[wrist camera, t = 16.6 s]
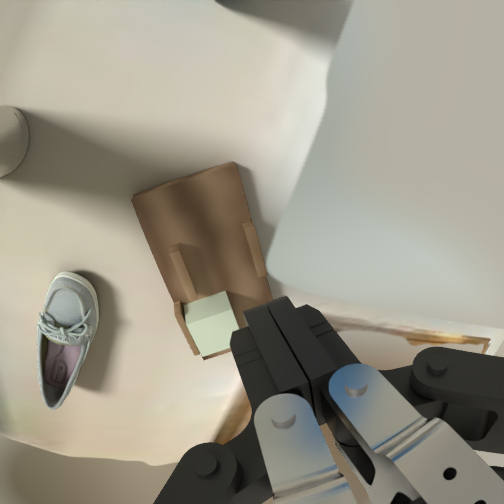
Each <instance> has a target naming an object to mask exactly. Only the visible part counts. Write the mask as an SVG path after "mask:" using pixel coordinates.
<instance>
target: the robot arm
mask: <svg viewBox="0 0 504 504" xmlns="http://www.w3.org/2000/svg"><path fill="white" fill-rule="evenodd" d="M28 144H29V130H28V125H27V122H26V120H25V118H24V116H23V115H22V113H21V112H20V111H18V110H17V109H15V108H13V107H10V106H0V177H2V176H4V175H6V174H9V173H10V172H12V171H14V170H15V169H16V168H17V167H18V166H19V165H20V163H21V162H22V161H23V159H24V157H25V155H26V152H27V149H28ZM242 313H243V317H244V320H245V323H246V326H247V327H244V328H241V329H238V330H236V331H233V332H232V335H231V339H230V344H229V345H230V348H231V350H232V353H233V356H234V359H235V362H236V365H237V368H238V371H239V373H240V376H241V379H242V382H243V385H244V387H245V390H246V393H247V396H248V398H249V401H250V404H251V407H252V415H251V419H250V422H249V424H248V425H247V427H246V428H245V429H244V430H243V431H242V432H241V433H240V434H239V435H238V436H236V437H235V438H233V439H232V440H230V441H229V442H227V443H226V444H224V445H222V444H219V443H212V442H209V443H202V444H199V445H196V446H194V447H192V448H191V449H189V450H188V451H187V452H186V453H185V454H184V455H183V457H182V458H181V460H180V461H179V463H178V465H177V466H176V468H175V470H174V471H173V473H172V475H171V476H170V478H169V479H168V481H167V483H166V484H165V486H164V487H163V489H162V491H161V492H160V494H159V495H158V497H157V498H156V500H155V502H154V503H153V504H262V503H263V502H265V501H266V500H268V499H269V498H270V497H272V496H273V501H274V504H357V502H356V500H355V498H354V495H353V493H352V491H351V488H350V486H349V484H348V482H347V481H346V479H345V477H344V476H343V474H341V473H340V472H339V470H338V468H337V466H336V464H335V462H334V459H333V457H332V455H331V452H330V450H329V448H328V446H327V443H326V441H325V439H324V436H323V434H322V432H321V429H320V427H319V426H320V425H322V424H325V423H327V425H328V427H329V428H330V430H331V432H332V437H333V442H334V444H335V445H336V447H337V449H338V450H339V452H340V453H341V454H342V456H343V457H344V459H345V460H346V461H347V463H348V464H349V466H350V467H351V469H352V470H353V472H354V473H355V474H356V476H357V477H358V479H359V480H360V481H361V483H362V484H363V485H364V487H365V489H366V491H367V493H368V496H369V499H370V501H371V503H372V504H504V467H498V466H489V465H487V464H486V462H485V461H484V460H483V459H482V458H481V457H480V456H479V455H478V454H477V453H476V452H475V451H474V450H478V451H486V452H492V453H499V454H504V357H497V356H491V355H485V354H479V353H472V352H466V351H461V350H456V349H449V348H444V347H430V348H427V349H424V350H422V351H421V352H419V353H418V354H417V356H416V357H415V359H414V361H413V365H410V366H406V367H402V368H397V369H393V370H382V371H381V370H377V369H375V368H374V367H372V366H369V365H366V364H362V363H361V362H360V361H359V360H358V359H357V358H356V356H355V355H354V354H353V353H352V352H351V350H350V349H349V348H348V346H347V345H346V344H345V342H344V341H343V340H342V339H341V337H340V336H339V335H338V334H337V332H336V331H334V329H333V327H332V326H331V325H330V324H329V323H328V322H327V320H326V319H325V317H324V316H323V315H322V314H321V312H320V311H319V310H317V309H315V308H313V307H311V306H309V305H307V304H306V305H304V306H301V307H298V308H295V307H294V305H293V304H292V302H291V301H290V300H289V298H288V297H287V296H284V297H281V298H278V299H275V300H273V301H270V302H267V303H265V305H264V304H262V305H259V306H256V307H253V308H250V309H248V310H245V311H242Z"/></svg>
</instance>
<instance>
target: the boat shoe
mask: <svg viewBox="0 0 504 504" xmlns="http://www.w3.org/2000/svg"><path fill="white" fill-rule="evenodd" d="M39 316H40V319H39V321H38V324H37V325H38V328H37V347H38V348H37V353H38V361H37V364H38V377H39V383H40V389H41V395H42V398H43V400H44V402H45V404H46V406H47V407H48V408H50V409H53V410H54V409H57V408H58V407H59V406H61V405H62V403H63V401H64V400H65V398H66V397H67V395H69V393H70V391H71V389H72V387H73V386H74V384H75V382H76V380H77V377H78V374H79V370H80V367H81V365H82V364H83V362H84V360H85V357H86V355H87V352H88V349H89V346H90V344H91V342H92V340H93V338H94V335H95V333H96V331H97V327H98V322H99V307H98V300H97V295H96V292H95V289H94V288H93V286H92V284H91V283H90V282H89V281H88V280H87V279H85V278H84V277H82V276H80V275H78V274H76V273H73V272H69V271H63V272H61V273H59V274H58V275H57V276H56V277H55V279H54V280H53V282H52V283H51V285H50V287H49V290H48V293H47V296H46V299H45V304H44V307H43V310H42V313H39Z"/></svg>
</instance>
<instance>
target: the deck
mask: <svg viewBox="0 0 504 504" xmlns="http://www.w3.org/2000/svg"><path fill="white" fill-rule="evenodd" d="M131 201H132V203H133V206H134V209H135V211H136V214H137V217H138V219H139V222H140V224H141V227H142V229H143V232H144V234H145V237H146V239H147V242H148V244H149V247H150V249H151V251H152V254H153V256H154V259H155V261H156V263H157V266H158V268H159V270H160V273H161V275H162V277H163V280H164V282H165V284H166V286H167V289H168V291H169V293H170V295H171V297H172V300H173V302H174V311H175V317H176V319H177V321H178V323H179V325H180V327H181V329H182V331H183V333H184V335H185V337H186V339H187V341H188V343H189V345H190V347H191V349H192V351H193V353H194V355H195V356H196V355H199V354H201V353H200V351H199V349H198V347H197V346H196V344H195V342H194V340H193V338H192V336H191V334H190V332H189V330H188V327H187V325H186V320H185V312H184V305H185V304H188V303H191V302H194V301H197V300H200V299H203V298H206V297H208V296H211V295H214V294H217V293H220V292H223V291H226V294H227V297H228V299H229V302H230V305H231V308H232V310H233V313H234V316H235V318H236V321H237V324H238V326H239V329H241V328H244V327H247V326H246V323H245V320H244V317H243V313H242V311H245V310H248V309H250V308H253V307H256V306H259V305H262V304H264V305H265V303H267V302H270V301H273V300H272V296H271V292H270V289H269V285H268V281H267V277H266V275H267V271H266V267H265V264H264V260H263V256H262V252H261V248H260V244H259V240H258V237H257V233H256V229H255V225H254V224H253V223H252V220H251V216H250V213H249V209H248V205H247V201H246V197H245V194H244V190H243V186H242V182H241V179H240V175H239V171H238V168H237V164H235V163H234V162H229V163H226V164H223V165H220V166H216V167H213V168H210V169H207V170H204V171H200V172H197V173H194V174H191V175H188V176H185V177H182V178H179V179H176V180H173V181H170V182H168V183H165V184H162V185H159V186H156V187H153V188H151V189H148V190H145V191H142V192H140V193H137V194H134V195H133V197H132V199H131ZM230 351H232V350H231V348H228V349H225V350H222V351H219V352H216V353H213V354H210V355H207V356H204V357H202V358H203V360H206V359H209V358H212V357H215V356H218V355H221V354H224V353H227V352H230ZM201 356H202V355H201Z"/></svg>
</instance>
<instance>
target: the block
mask: <svg viewBox="0 0 504 504" xmlns="http://www.w3.org/2000/svg"><path fill="white" fill-rule="evenodd" d="M184 312H185V320H186V325H187V327H188V330H189V332H190V334H191V336H192V338H193V340H194V342H195V344H196V346H197V347H198V349H199V351H200V353H201V355H202V357H204V356H207V355H210V354H213V353H216V352H219V351H222V350H225V349H228V348H230V345H229V344H230V339H231V335H232V332H233V331H236V330H238V329H239V326H238V324H237V321H236V318H235V316H234V313H233V310H232V308H231V305H230V302H229V299H228V297H227V294H226V291H223V292H220V293H217V294H214V295H211V296H208V297H206V298H203V299H200V300H197V301H194V302H191V303H188V304H185V305H184Z"/></svg>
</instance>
